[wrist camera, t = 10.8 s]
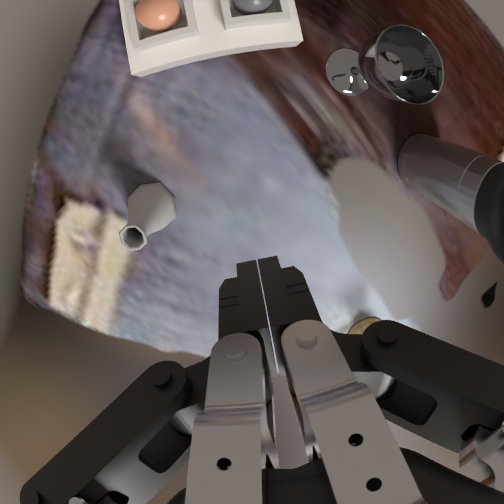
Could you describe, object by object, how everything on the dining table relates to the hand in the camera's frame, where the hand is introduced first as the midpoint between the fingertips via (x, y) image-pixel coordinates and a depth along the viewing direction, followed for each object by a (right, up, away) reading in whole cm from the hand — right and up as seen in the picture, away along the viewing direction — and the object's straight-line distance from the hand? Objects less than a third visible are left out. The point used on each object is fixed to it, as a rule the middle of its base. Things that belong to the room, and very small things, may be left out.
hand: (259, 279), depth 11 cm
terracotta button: (-10, +27, +11) cm, 31 cm away
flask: (-14, +8, +28) cm, 32 cm away
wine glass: (+13, +25, +21) cm, 35 cm away
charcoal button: (0, +29, +12) cm, 31 cm away
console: (-6, +30, +16) cm, 35 cm away
